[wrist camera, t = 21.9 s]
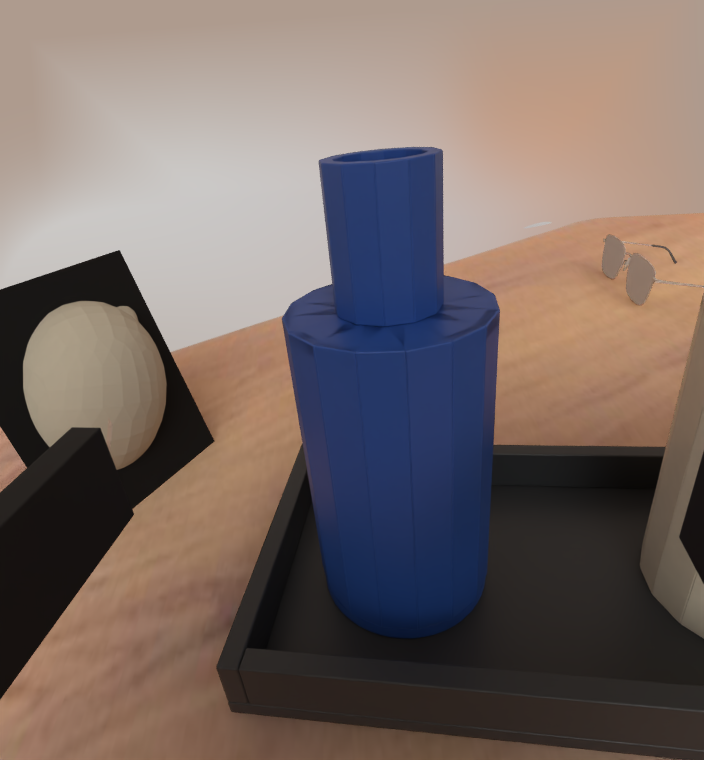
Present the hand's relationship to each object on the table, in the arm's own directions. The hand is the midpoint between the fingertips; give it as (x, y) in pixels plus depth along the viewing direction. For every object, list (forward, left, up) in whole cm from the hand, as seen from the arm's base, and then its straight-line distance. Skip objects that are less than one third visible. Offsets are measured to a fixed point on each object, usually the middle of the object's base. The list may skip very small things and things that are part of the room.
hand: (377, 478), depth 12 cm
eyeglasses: (+14, -47, -11) cm, 50 cm away
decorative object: (+22, +3, -11) cm, 25 cm away
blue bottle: (+5, -5, -10) cm, 12 cm away
